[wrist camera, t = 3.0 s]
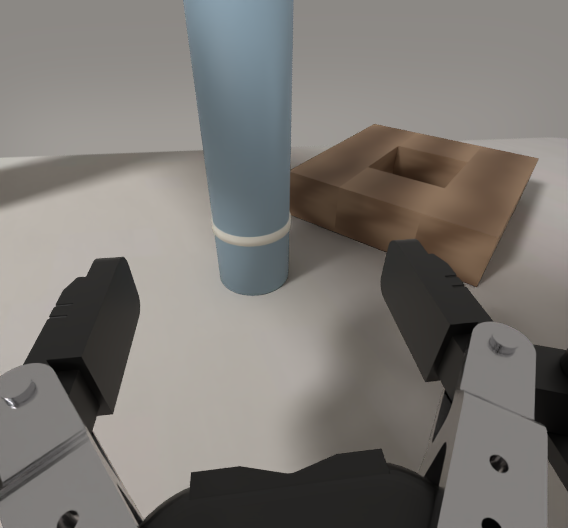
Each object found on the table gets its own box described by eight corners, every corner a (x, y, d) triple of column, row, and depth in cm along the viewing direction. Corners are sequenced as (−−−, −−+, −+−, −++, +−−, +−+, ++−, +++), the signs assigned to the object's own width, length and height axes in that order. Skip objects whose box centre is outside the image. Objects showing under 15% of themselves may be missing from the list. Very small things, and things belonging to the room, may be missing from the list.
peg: (203, 276, 25) (153, -15, 15) (251, 243, 28) (235, -15, 18) (258, 307, 23) (242, -13, 13) (303, 268, 26) (318, -13, 16)
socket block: (287, 213, 32) (288, 171, 29) (368, 159, 42) (374, 123, 39) (476, 286, 24) (499, 238, 22) (520, 198, 34) (538, 158, 32)
